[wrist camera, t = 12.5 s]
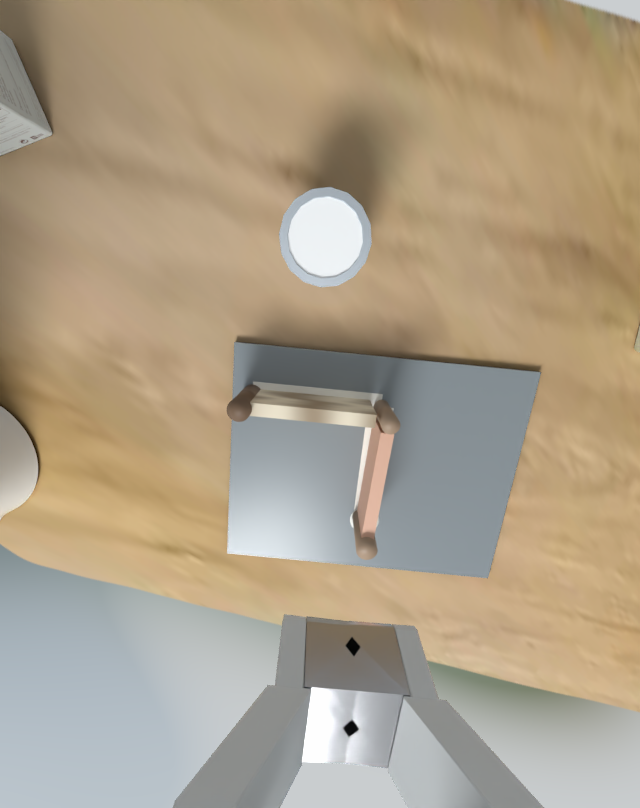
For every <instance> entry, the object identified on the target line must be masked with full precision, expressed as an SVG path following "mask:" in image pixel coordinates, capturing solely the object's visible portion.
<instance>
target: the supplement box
mask: <svg viewBox="0 0 640 808" xmlns="http://www.w3.org/2000/svg"><path fill="white" fill-rule="evenodd" d="M51 135H52V131H51V128H50V126H49V124H48V121H47V119H46V117H45V114H44V112H43V110H42V108H41V105H40V103H39V101H38V98H37V96H36V94H35V92H34V89H33V87H32V85H31V82H30V80H29V78H28V76H27V73H26V71H25V69H24V66H23V64H22V62H21V60H20V57H19V55H18V53H17V50H16V48H15V46H14V44H13V41H12V39H10V38H9V37H8V36H7V35H5V34H4V33H3V32H2V31H1V30H0V156H1V155H4V154H6V153H9V152H11V151H14V150H16V149H19V148H21V147H24V146H26V145H29V144H31V143H34V142H36V141H39V140H41V139H43V138H46V137H48V136H51Z"/></svg>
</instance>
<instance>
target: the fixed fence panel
mask: <svg viewBox="0 0 640 808" xmlns="http://www.w3.org/2000/svg"><path fill="white" fill-rule="evenodd" d="M227 414H228V416H229V417H230V418H231V419H232V420H234V421H236V422H242V421H245V420H246V419H247V418H248V417H249V416H256V417H266V418H276V419H286V420H297V421H307V422H317V423H327V424H338V425H348V426H358V427H368V428H375V424H376V417H377V414H376V412H375V410H374V408H373V406H372V403H371V401H370V400H366V399H356V398H345V397H335V396H325V395H315V394H305V393H294V392H284V391H274V390H264V389H260V388H259V387H258V386H256V385H253V384H250V385H247V386H246V387H245V388H244V389H243V390H242V391H241V392H240V393H239V394H238V395H237V396H236V397H235V398H234V399H233V400H232V401H231V402H230V403H229V404H228V406H227Z"/></svg>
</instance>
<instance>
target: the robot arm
mask: <svg viewBox="0 0 640 808" xmlns="http://www.w3.org/2000/svg"><path fill="white" fill-rule="evenodd" d="M37 477H38V461H37V456H36V452H35V449H34V446H33V444H32V441H31V439H30V438H29V436H28V434H27V433H26V431H25V430H24V428H23V427H22V425H21V424H20V423H19V422H18V421H17V420H16V419H15V418H14V417H13V416H12V415H11V414H10V413H9V412H8V411H7V410H5V409H4V408H3V407H1V406H0V520H1V518H2V517H3V516H4V515H5V514H7V513H8V512H10V511H12V510H14V509H16V508H17V507H19V506H20V505H22V504H23V503H24V502H25V501H26V500H27V499H28V498H29V497H30V495H31V494H32V492H33V490H34V488H35V485H36V482H37ZM302 762H325V763H326V762H327V763H346V764H355V765H363V766H372V767H381V768H388V773H389V774H390V776H391V778H392V780H393V782H394V783H395V785H396V787H397V789H398V791H399V792H400V794H401V796H402V798H403V799H404V801H405V803H406V805H407V807H408V808H544V807H543V806H542V805H541V804H540V803H539V802H538V801H537V800H536V798H535V797H534V796H533V795H532V794H531V793H530V792H529V791H528V790H527V789H526V787H524V785H523V784H522V783H521V782H520V781H519V780H518V779H517V778H516V777H515V775H514V774H513V773H512V772H511V771H510V770H509V769H508V768H507V767H506V765H505V764H504V763H503V762H502V761H501V760H500V759H499V758H498V757H497V756H496V755H495V753H494V752H493V751H492V750H491V749H490V748H489V747H488V746H487V745H486V743H485V742H484V741H483V740H482V739H481V738H480V737H479V736H478V735H477V734H476V732H475V731H474V730H473V729H472V728H471V727H470V726H469V725H468V724H467V722H466V721H465V720H464V719H463V718H462V717H461V716H460V715H459V714H458V713H457V712H456V710H454V708H453V707H452V706H451V705H450V704H449V703H448V702H447V700H441V699H439V698H438V695H437V692H436V689H435V685H434V682H433V679H432V676H431V672H430V669H429V667H428V663H427V660H426V657H425V653H424V650H423V647H422V644H421V641H420V638H419V634H418V631H417V629H416V628H415V627H414V626H407V625H394V624H392V625H391V624H380V623H367V622H354V621H341V620H332V619H324V618H315V617H302V616H294V615H286V614H284V617H283V622H282V630H281V639H280V647H279V656H278V665H277V673H276V682H275V686H273V685H268V686H267V687H266V688H265V689H264V691H263V692H262V693H261V694H260V696H259V697H258V698H257V699H256V701H255V702H254V703H253V704H252V706H251V707H250V708H249V709H248V711H247V712H246V713H245V714H244V716H243V717H242V718H241V719H240V720H239V722H238V723H237V724H236V726H235V727H234V728H233V729H232V730H231V732H230V733H229V734H228V736H227V737H226V738H225V739H224V740H223V742H222V743H221V744H220V745H219V747H218V748H217V749H216V751H215V752H214V753H213V754H212V755H211V757H210V758H209V759H208V761H207V762H206V763H205V764H204V765H203V767H202V768H201V769H200V770H199V772H198V773H197V774H196V775H195V777H194V778H193V779H192V781H191V782H190V783H189V784H188V785H187V787H186V788H185V789H184V791H183V792H182V793H181V794H180V795H179V797H178V798H177V799H176V800H175V803H174V806H173V808H280V806H281V804H282V803H283V800H284V799H285V797H286V795H287V793H288V791H289V789H290V787H291V785H292V783H293V781H294V779H295V777H296V775H297V773H298V771H299V769H300V767H301V765H302Z"/></svg>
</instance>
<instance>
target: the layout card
mask: <svg viewBox="0 0 640 808" xmlns="http://www.w3.org/2000/svg"><path fill="white" fill-rule="evenodd" d="M540 374H541V372H537V371H527V370H517V369H507V368H497V367H487V366H477V365H466V364H456V363H446V362H436V361H426V360H416V359H406V358H395V357H385V356H375V355H365V354H355V353H345V352H335V351H325V350H314V349H304V348H294V347H284V346H274V345H264V344H254V343H243V342H234V371H233V399H234V398H235V397H236V396H237V395H238V394H239V393H240V392H241V391H242V390H243V389H244V388H245V387H246V386H247V385H250V384H253V385H256V386H258V387H259V388H260V389H264V390H274V391H284V392H294V393H305V394H315V395H325V396H335V397H345V398H356V399H366V400H370V401H371V403H372V406H374V404H375V402H376V401H378V400H385V401H387V402H388V404H389V405H390V407H391V408H392V410H393V412H394V413H395V415H396V416H397V418H398V420H399V421H400V429H399V431H398V432H396V433H395V434H394V439H393V444H392V449H391V454H390V459H389V464H388V469H387V475H386V480H385V485H384V490H383V495H382V500H381V505H380V510H379V515H378V521H377V526H376V531H375V540H376V544H377V549H378V552H377V555H376V556H375V557H374V558H372V559H370V560H364V559H361V558H360V557H359V556H358V555H357V553H356V545H355V536H354V528H353V519H352V515H353V513H354V512H355V511H356V510H357V508H358V502H359V497H360V491H361V485H362V480H363V474H364V468H365V463H366V457H367V451H368V446H369V440H370V435H371V429H372V428H368V427H358V426H348V425H338V424H327V423H317V422H307V421H297V420H286V419H276V418H266V417H256V416H249V417H248V418H247V419H246V420H245V421H242V422H236V421H234V420H232V430H231V460H230V489H229V519H228V548H227V553H230V554H240V555H251V556H261V557H272V558H282V559H293V560H303V561H314V562H324V563H335V564H345V565H356V566H366V567H377V568H387V569H398V570H408V571H419V572H429V573H439V574H450V575H460V576H471V577H481V578H488V576H489V572H490V568H491V564H492V560H493V556H494V553H495V549H496V545H497V541H498V537H499V533H500V529H501V525H502V522H503V518H504V514H505V510H506V506H507V502H508V498H509V495H510V491H511V487H512V483H513V479H514V475H515V471H516V467H517V464H518V460H519V456H520V452H521V448H522V444H523V440H524V436H525V433H526V429H527V425H528V421H529V417H530V413H531V409H532V405H533V402H534V398H535V394H536V390H537V386H538V382H539V378H540Z"/></svg>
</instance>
